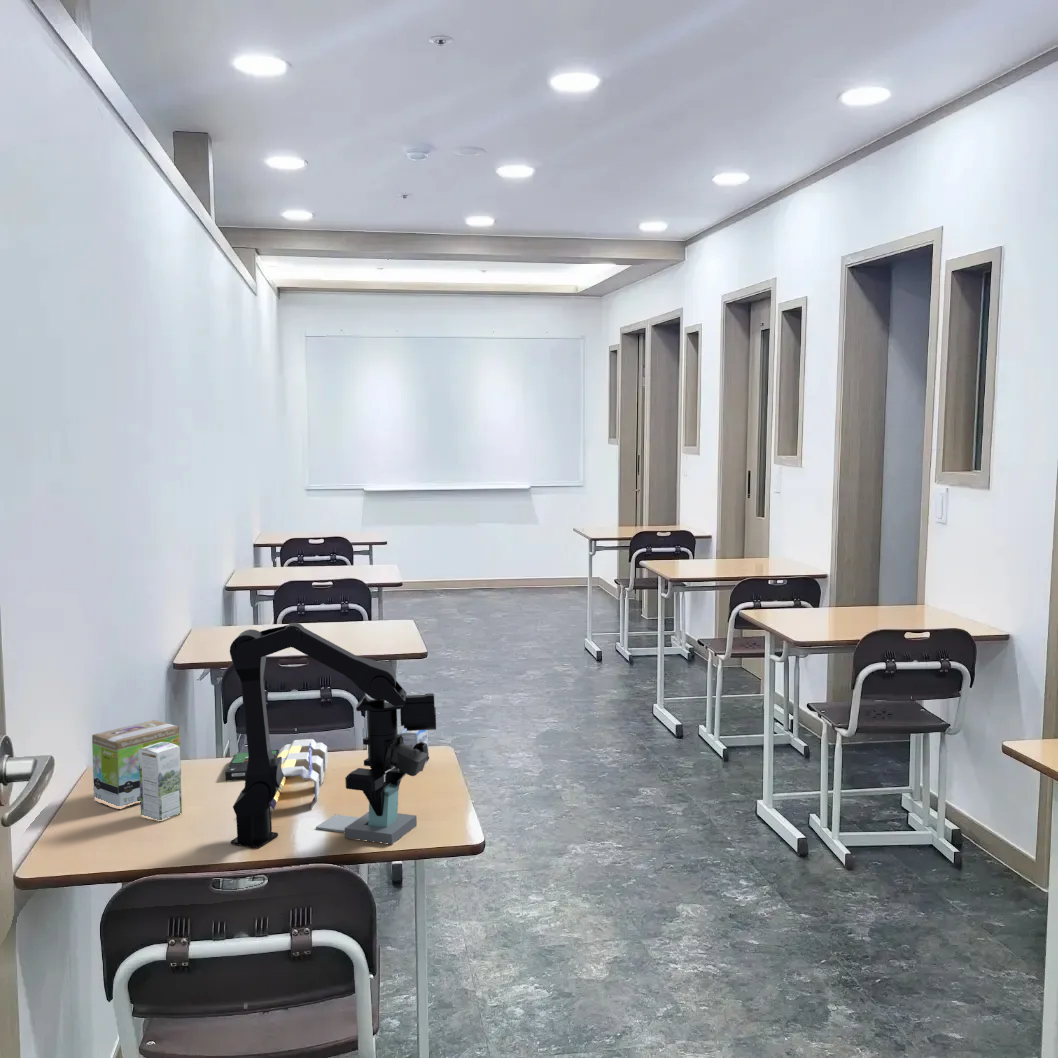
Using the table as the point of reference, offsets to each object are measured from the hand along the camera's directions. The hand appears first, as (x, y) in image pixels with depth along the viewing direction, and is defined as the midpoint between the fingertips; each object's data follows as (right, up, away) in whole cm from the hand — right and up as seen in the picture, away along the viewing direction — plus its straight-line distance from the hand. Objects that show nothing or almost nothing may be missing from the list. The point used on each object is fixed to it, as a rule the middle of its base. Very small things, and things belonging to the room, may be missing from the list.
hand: (385, 811), depth 195 cm
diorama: (-22, -3, +26) cm, 34 cm away
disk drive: (-36, -2, +41) cm, 55 cm away
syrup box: (-47, -4, +12) cm, 48 cm away
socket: (-1, -4, +1) cm, 4 cm away
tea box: (-56, -4, +24) cm, 61 cm away
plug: (-1, -3, +1) cm, 3 cm away
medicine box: (+1, -1, +42) cm, 42 cm away
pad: (-9, -4, +5) cm, 11 cm away
